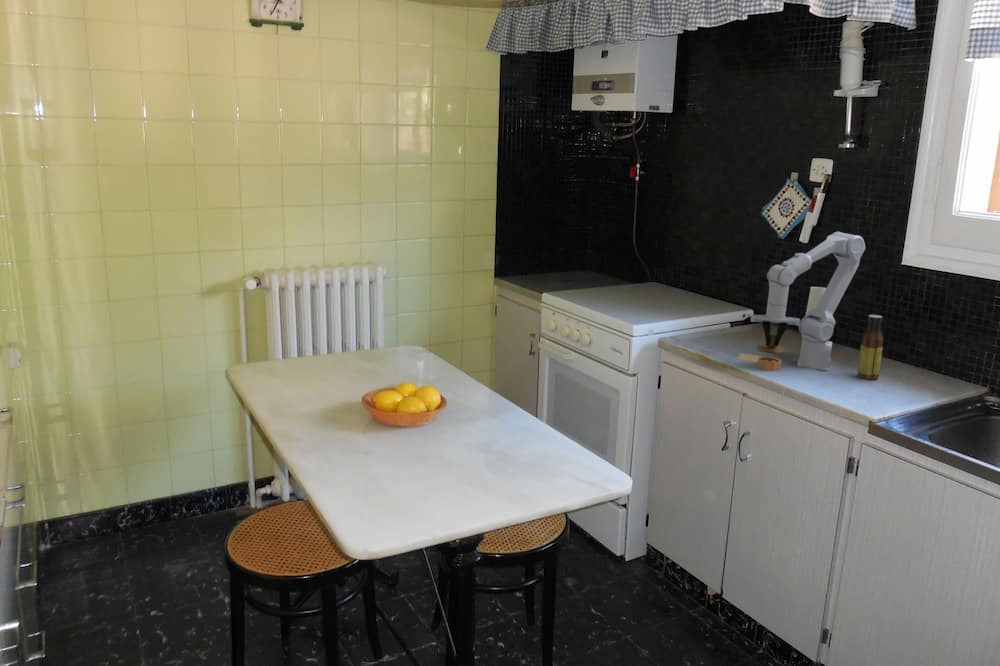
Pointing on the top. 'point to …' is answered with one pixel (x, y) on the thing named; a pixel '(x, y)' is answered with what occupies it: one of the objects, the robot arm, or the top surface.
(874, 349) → the sauce bottle
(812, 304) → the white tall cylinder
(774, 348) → the lid
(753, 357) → the mat
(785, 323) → the robot arm
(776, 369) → the bowl
